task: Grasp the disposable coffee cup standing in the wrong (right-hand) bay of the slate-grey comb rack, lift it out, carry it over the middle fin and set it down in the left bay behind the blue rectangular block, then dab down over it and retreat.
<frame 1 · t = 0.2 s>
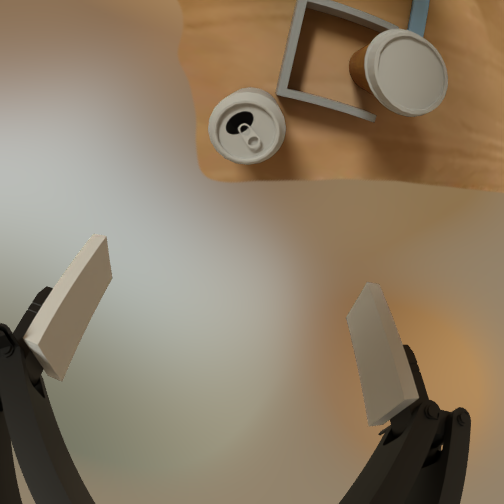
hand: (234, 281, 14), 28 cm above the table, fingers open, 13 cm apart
disposable coffee cup: (370, 69, 29), on the table
blue rectangular block: (419, 9, 22), on the table
comb rack: (352, 18, 25), on the table
can: (250, 114, 34), on the table
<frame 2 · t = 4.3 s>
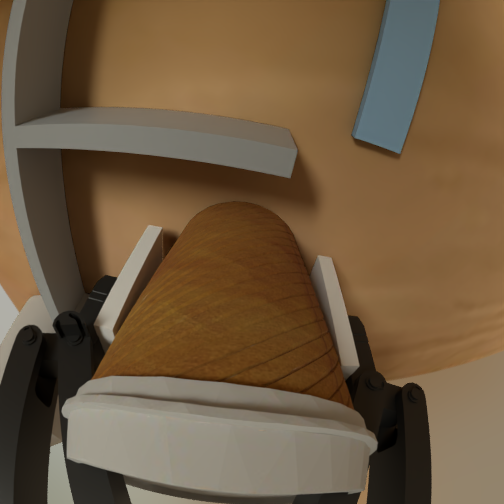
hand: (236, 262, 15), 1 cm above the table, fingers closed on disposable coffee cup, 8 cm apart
disposable coffee cup: (238, 251, 16), on the table, touching gripper
blue rectangular block: (403, 38, 8), on the table
comb rack: (174, 121, 11), on the table
can: (65, 317, 21), on the table
when the fingers open (2 cm above the table, at t = 10.5 s): disposable coffee cup drops 1 cm, on the table.
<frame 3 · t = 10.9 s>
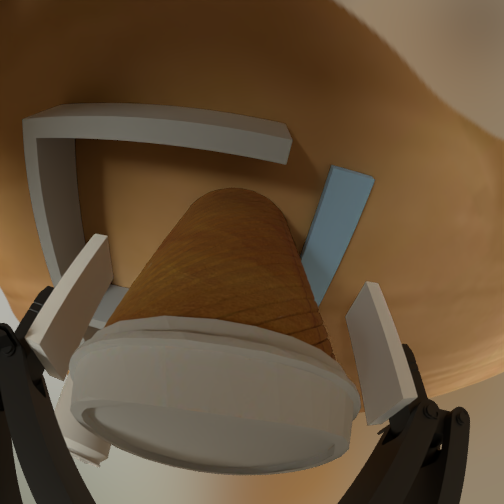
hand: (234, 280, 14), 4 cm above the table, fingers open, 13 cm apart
disposable coffee cup: (235, 235, 17), on the table
blue rectangular block: (321, 253, 17), on the table
comb rack: (171, 302, 20), on the table
can: (100, 373, 29), on the table
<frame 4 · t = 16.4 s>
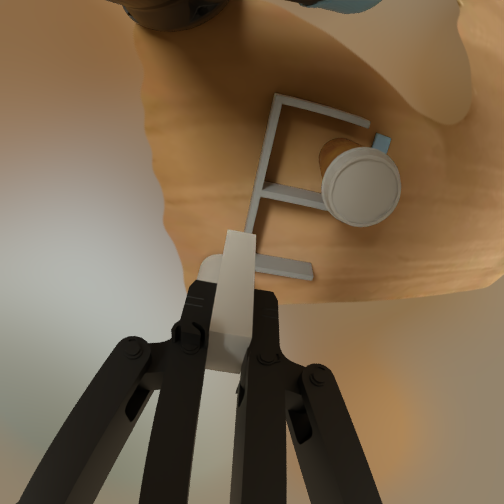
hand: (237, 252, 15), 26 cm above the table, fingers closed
disposable coffee cup: (339, 158, 38), on the table
blue rectangular block: (371, 168, 38), on the table
comb rack: (304, 192, 41), on the table
can: (221, 267, 51), on the table
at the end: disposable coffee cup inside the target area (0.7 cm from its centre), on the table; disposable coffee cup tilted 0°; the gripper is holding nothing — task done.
